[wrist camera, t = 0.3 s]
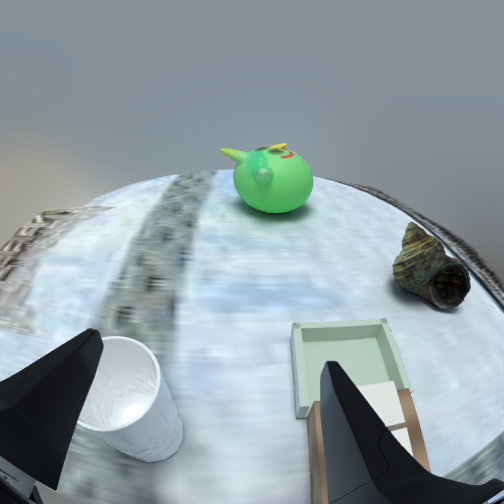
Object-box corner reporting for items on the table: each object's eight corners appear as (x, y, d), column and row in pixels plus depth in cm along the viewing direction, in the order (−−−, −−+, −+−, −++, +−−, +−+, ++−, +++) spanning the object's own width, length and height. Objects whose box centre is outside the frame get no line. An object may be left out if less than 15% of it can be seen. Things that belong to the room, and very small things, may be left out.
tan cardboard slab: (411, 500, 12) (434, 493, 10) (312, 524, 12) (322, 524, 10) (392, 407, 21) (408, 387, 19) (306, 418, 22) (313, 401, 19)
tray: (400, 405, 21) (412, 391, 20) (296, 419, 22) (300, 406, 20) (378, 335, 30) (385, 318, 28) (290, 340, 30) (292, 322, 28)
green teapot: (325, 213, 59) (331, 148, 51) (264, 235, 51) (265, 157, 43) (273, 190, 71) (274, 135, 63) (217, 205, 63) (213, 143, 55)
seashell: (417, 333, 29) (447, 270, 24) (374, 281, 39) (390, 222, 33) (461, 311, 31) (488, 256, 26) (420, 269, 40) (437, 217, 35)
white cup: (196, 404, 23) (173, 343, 18) (183, 476, 16) (142, 446, 11) (125, 391, 24) (84, 329, 18) (104, 454, 17) (43, 408, 12)
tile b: (394, 431, 16) (405, 421, 15) (349, 440, 16) (357, 431, 15) (385, 392, 19) (393, 380, 18) (342, 398, 19) (349, 387, 18)
